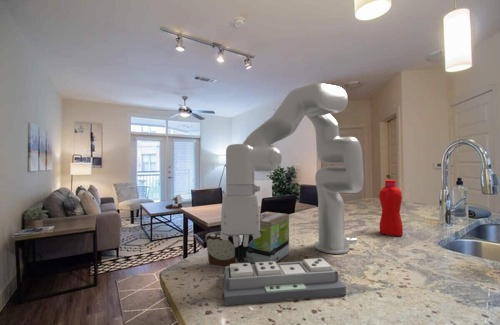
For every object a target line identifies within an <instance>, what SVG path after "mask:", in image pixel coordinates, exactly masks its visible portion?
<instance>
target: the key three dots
mask: <svg viewBox="0 0 500 325" xmlns="http://www.w3.org/2000/svg"><path fill="white" fill-rule="evenodd" d="M303 261H304V265H305V266H306V267H307V269H308V270H309V271H310V272H322V271H331V266H332V265H331V264H330V263H329V264H330V265H331V266H330V265H329V264H328V261H327V260H325V259H324V258H323V257H320V258H318V257H317V258H307V259H306V258H305V259H304V258H303Z"/></svg>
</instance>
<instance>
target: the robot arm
mask: <svg viewBox="0 0 500 325" xmlns="http://www.w3.org/2000/svg"><path fill="white" fill-rule="evenodd" d="M348 101H349V98H348V94H347V92H346V90H345V89H344V88H342V87H341V86H338V85H333V84H329V83H325V82H324V83H323V82H314V83H310V84H307V85H303V86H301V87H297V88H295V89H294V88H293V90H291V91H290V92H288V94H287V95H286V96H285V98H284V99H283V101H282V102H281V103H280V104H279V105H278V108H276V111H274V114H273V115H272V116H271V117H270V118H269V119H267V120H265V121H264V122H263V123H262V124H261V125H259V127H256V129H254V130H253V131H252V132H251V133H250V134H249V135H248V136H246V139H245V140H244V141H242V142H243V143H233V144H229V145H228V146H227V147H226V149H225V195H223V197H222V202H221V213H220V231H221V234H220V238H221V239H223V240H229V241H230V242H231V243H232V244H233V245H234V246H235V258H237V264H238V263H245V258H246V247H247V246H248V244H249V243H250V242H251V241H252V239H256V238H259V237H261V234H260V216H259V214H260V207H259V200H258V196H257V195H255V194H256V193H257V192H261V187H260V186H259V185H258V186H257V185H255V172H265V173H266V172H272V171H275V170H276V169H278V167H279V166H280V165H281V163H282V158H283V157H282V153H281V151H280V149H279V148H277V147H276V146H274V145H273V144H274V143H277V142H280V141H282V140H284V139H287V137H289V136H291V135H293V134H294V133H295V132H296V131H297V129H298V127H299V125H300V124H301V122H302V120H303V119H304V117H307V118H308V120H310V122H311V123H312V125H313V127H314V130H315V142H316V153H317V159H318V160H319V161H320V162H321V163H323V164H344V166H323V167H320V168H319V169H318V170H317V171H316V172H315V178H314V180H315V186H316V192H317V202H318V203H317V206H318V207H317V208H318V211H317V213H318V214H317V217H318V240H317V241H315V243H314V248H315V249H316V250H317V251H319V252H322V253H327V254H331V255H332V254H335V255H337V254H339V255H341V254H345V253H348V252H349V250H350V246H349V245H350V244H357V243H358V239H357V238H356V237H354V238H353V237H352V238H351V237H350V236H349V237H348V236H346V235H345V203H344V199H343V198H342V195H341V194H340V193H347V194H355V193H357V194H358V193H359V192H361V191H362V189H363V188H364V164H363V163H364V162H363V150H362V146H361V142H360V141H359V140H358V139H357V138H356V137H354V136H343V137H342V136H340V129H339V128H340V127H339V124H338V122H337V120H336V119H335V117H334V116H333V115H332V114H337V113H341V112H343V111H344V110H345V109H346V108H347V106H348ZM237 235H239V236H242V239H241V243H240V244H239V242H238V237H237Z"/></svg>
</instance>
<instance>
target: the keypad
mask: <svg viewBox="0 0 500 325" xmlns="http://www.w3.org/2000/svg"><path fill="white" fill-rule="evenodd" d="M327 263H328V262H327ZM250 264H251V267H252V270H253V276H250V277H236V278H231V277H230V266H225V270H223V273H222V274H223V277H222V278H223V295H224V296H223V297H224V299H223V300H224V306H232V305H245V304H256V303H267V302H268V303H270V302H280V301H282V302H283V301H292V300H304V299H317V298H318V299H319V298H327V297H339V296H346V295H347V287H346V285H345V284H343V283H342V282H341V281H340V280H339V271H337V269H335V268H334V267H333V266H332V265H331V264H330V263H328V264H329V265H330V266H331V271H322V272H310V271H309V270H308V269H307V267H306V266H305V265H304V260H302V261H301V260H300V261H284V262H276V264H277V266H278V267H279V269H280V274H279V275H264V276H257V273H256V270H255V264H254V263H250ZM291 264H299V265H300V266H301V267H302V268H303V270H304V271H305V272H306V273H293V274H284V272H283V271H282V269H281V268H280V265H291Z"/></svg>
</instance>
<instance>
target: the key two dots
mask: <svg viewBox="0 0 500 325" xmlns="http://www.w3.org/2000/svg"><path fill="white" fill-rule="evenodd" d="M251 264H252V263H251V262H243V263H242V262H240V263H238V262H237V264H230V277H231V278H236V277H250V276H253V270H252V267H251Z"/></svg>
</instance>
